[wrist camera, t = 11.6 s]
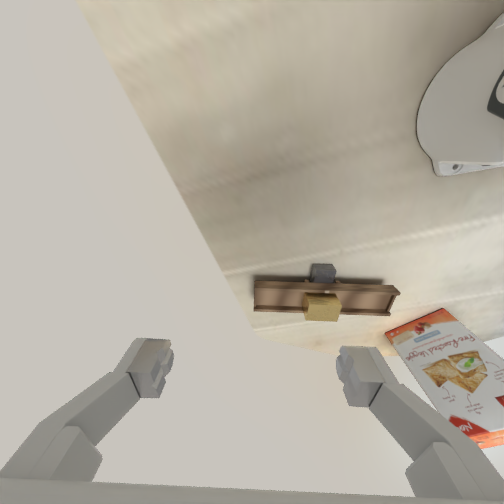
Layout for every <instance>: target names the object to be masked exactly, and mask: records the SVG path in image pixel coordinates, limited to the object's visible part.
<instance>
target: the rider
mask: <svg viewBox="0 0 504 504" xmlns="http://www.w3.org/2000/svg"><path fill="white" fill-rule="evenodd" d="M341 308H342V305H341V303H340V301H339V299H338V297H337V295H336V294H335V293H314V292H304V296H303V301H302V309H303V312H304V316H305V319H306V320H311V321H335V322H337V320H338V317H339V314H340V311H341Z"/></svg>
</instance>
